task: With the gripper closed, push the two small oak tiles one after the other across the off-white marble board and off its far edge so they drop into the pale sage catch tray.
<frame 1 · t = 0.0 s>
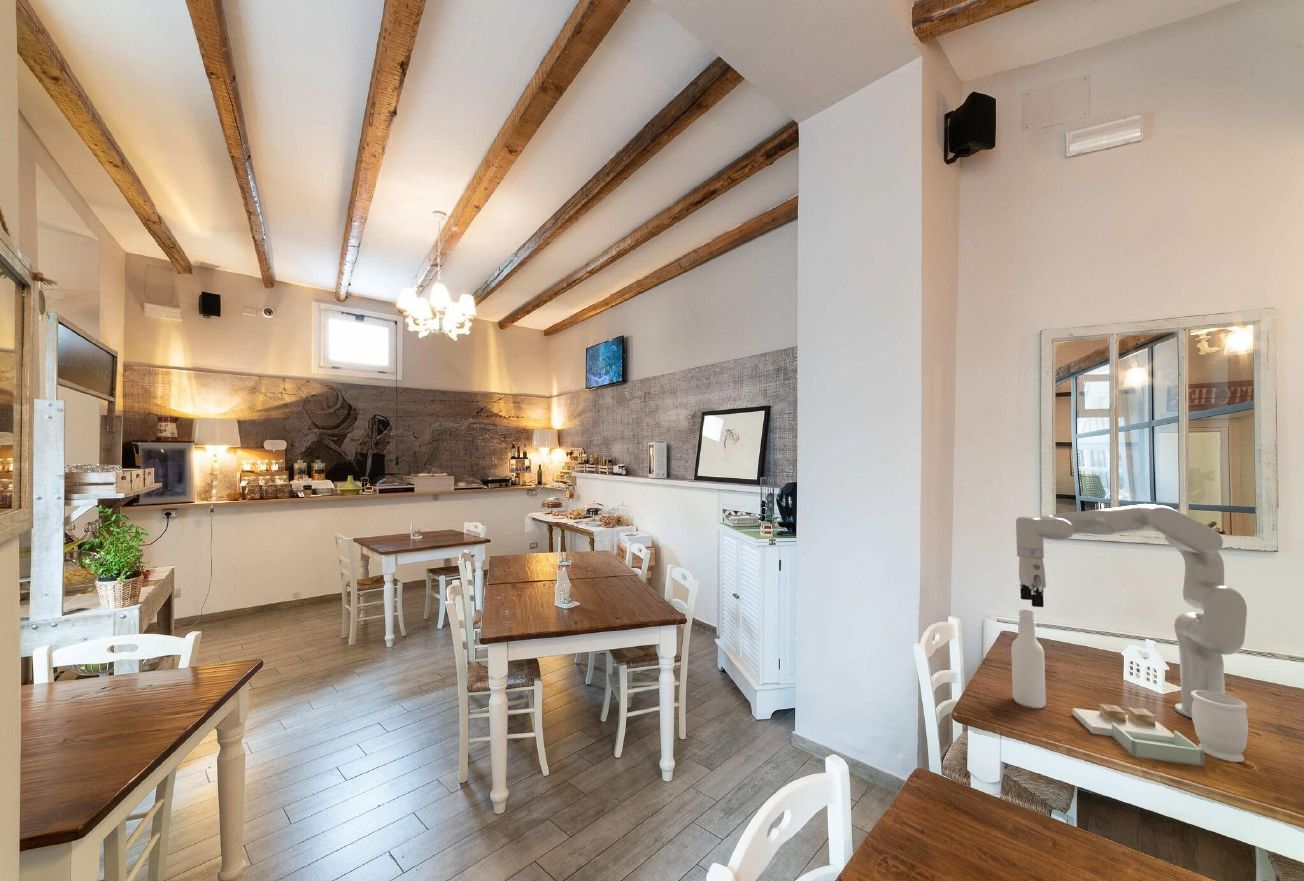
hand: (1031, 603, 176), 31 cm above the table, fingers open, 9 cm apart
tile b: (1112, 718, 154), point 2 cm above the table, touching board
catch tray: (1156, 751, 140), on the table
jar: (1220, 754, 139), on the table
board: (1122, 729, 152), on the table
tile a: (1141, 721, 152), point 2 cm above the table, touching board
alcohol: (1029, 703, 169), on the table
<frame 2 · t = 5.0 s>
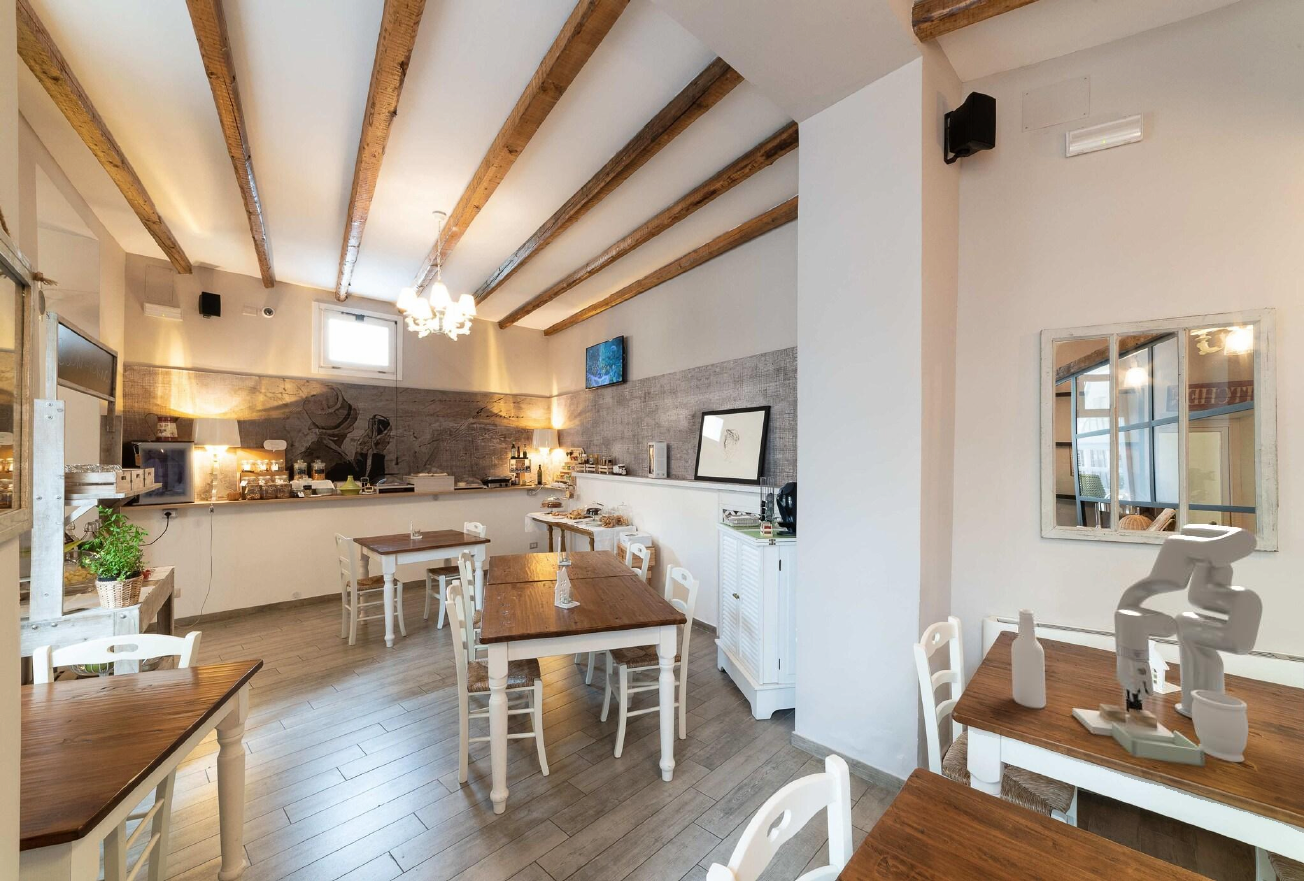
hand: (1134, 713, 155), 3 cm above the table, fingers closed
tile a: (1143, 723, 151), point 2 cm above the table, touching gripper
everything else where it was.
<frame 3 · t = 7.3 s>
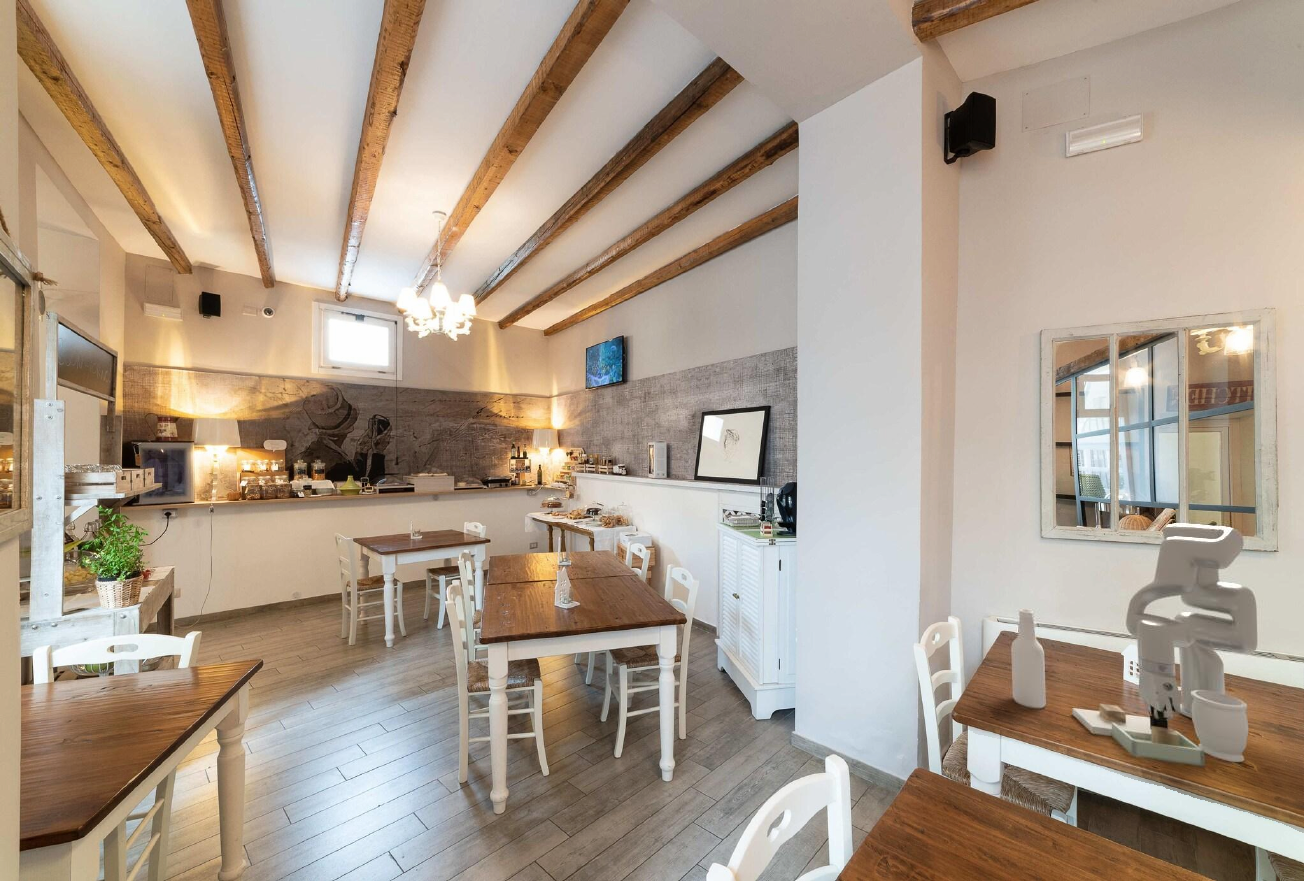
hand: (1159, 732, 144), 3 cm above the table, fingers closed
tile a: (1161, 735, 143), point 3 cm above the table, tilted 97°, touching catch tray, gripper
everything else where it was.
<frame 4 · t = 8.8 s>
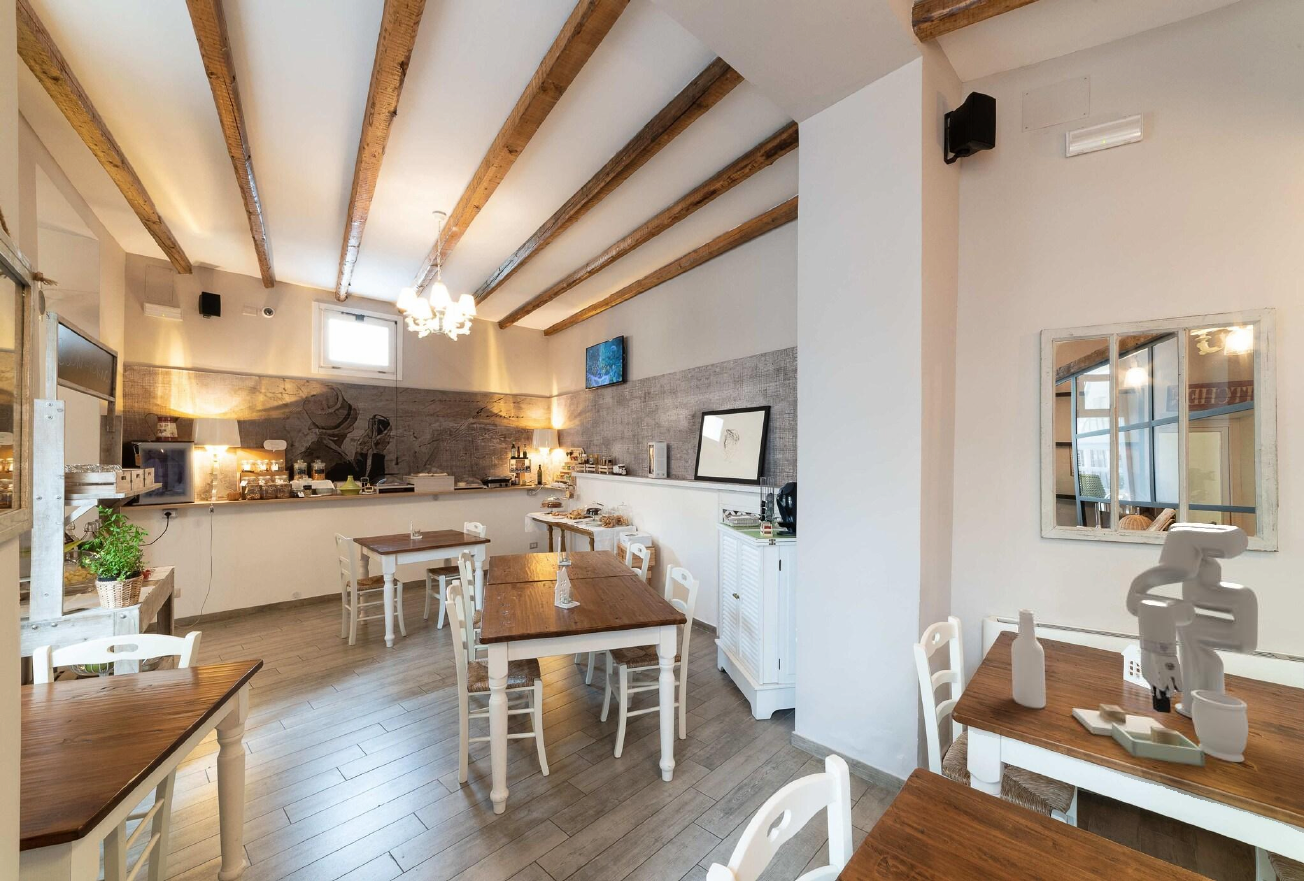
hand: (1161, 711, 144), 9 cm above the table, fingers closed
tile a: (1161, 735, 143), point 3 cm above the table, tilted 90°, touching catch tray
everything else where it was.
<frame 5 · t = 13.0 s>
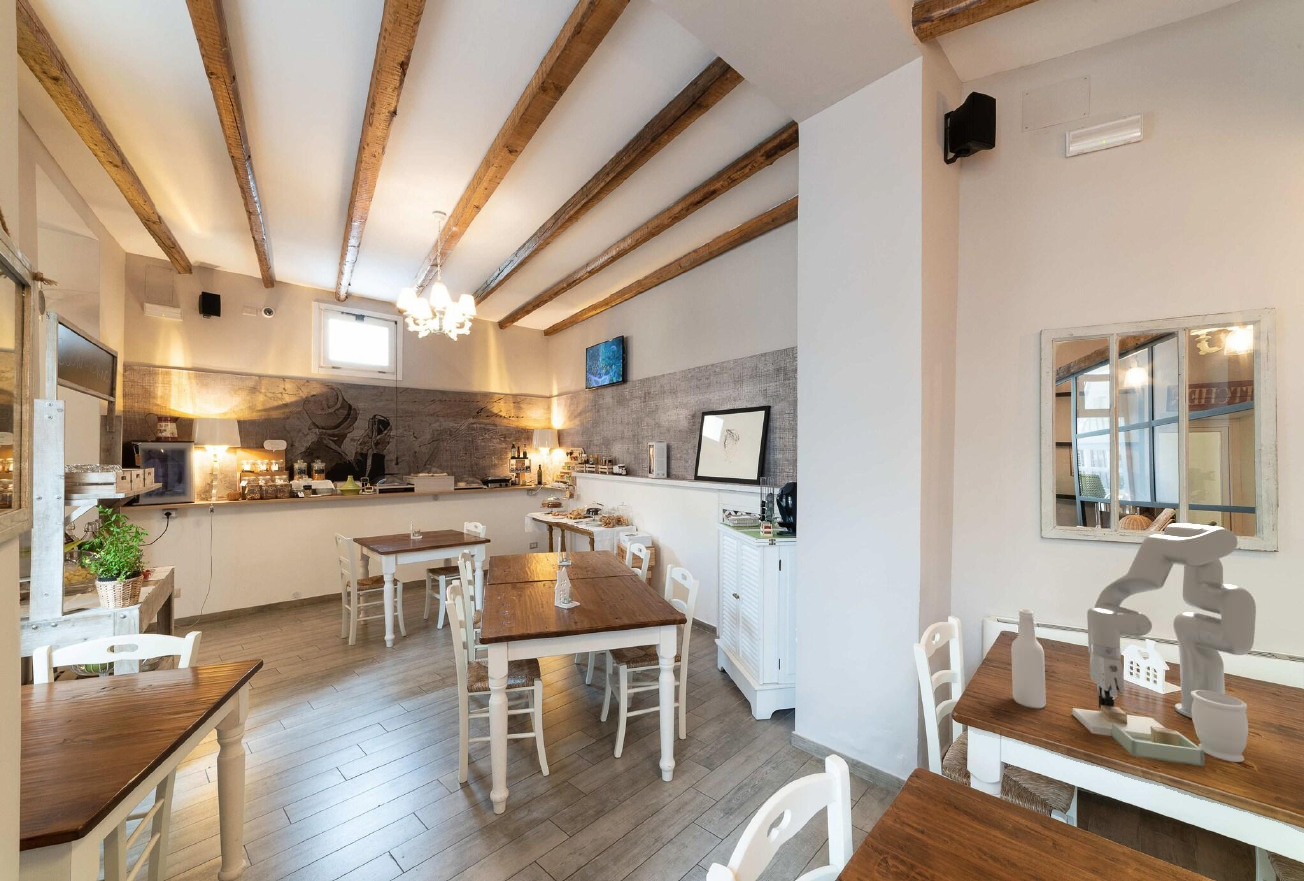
hand: (1106, 710, 157), 3 cm above the table, fingers closed
tile b: (1113, 719, 153), point 2 cm above the table, touching gripper
everything else where it was.
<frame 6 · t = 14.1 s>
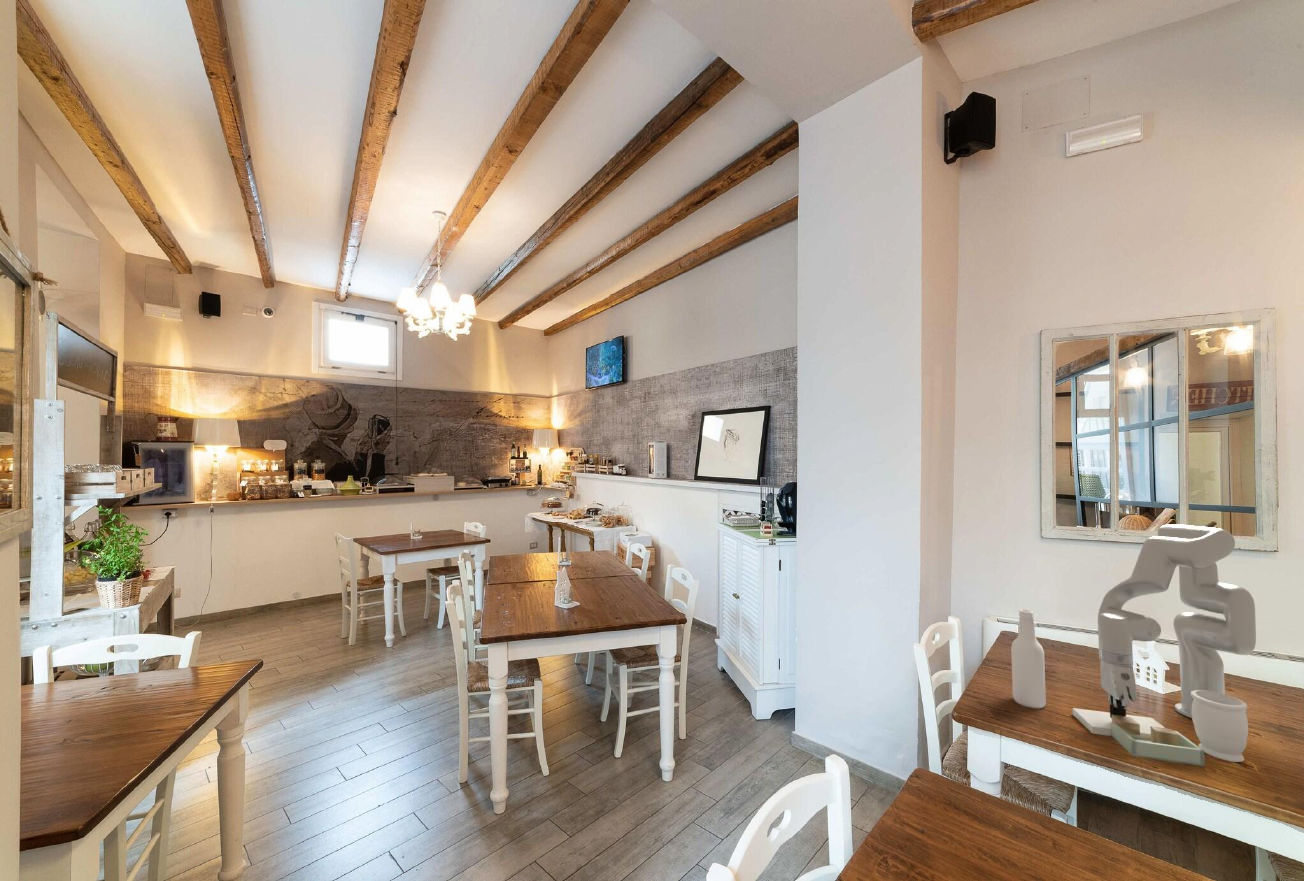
hand: (1118, 719, 151), 3 cm above the table, fingers closed
tile b: (1125, 730, 147), point 2 cm above the table, touching gripper
everything else where it was.
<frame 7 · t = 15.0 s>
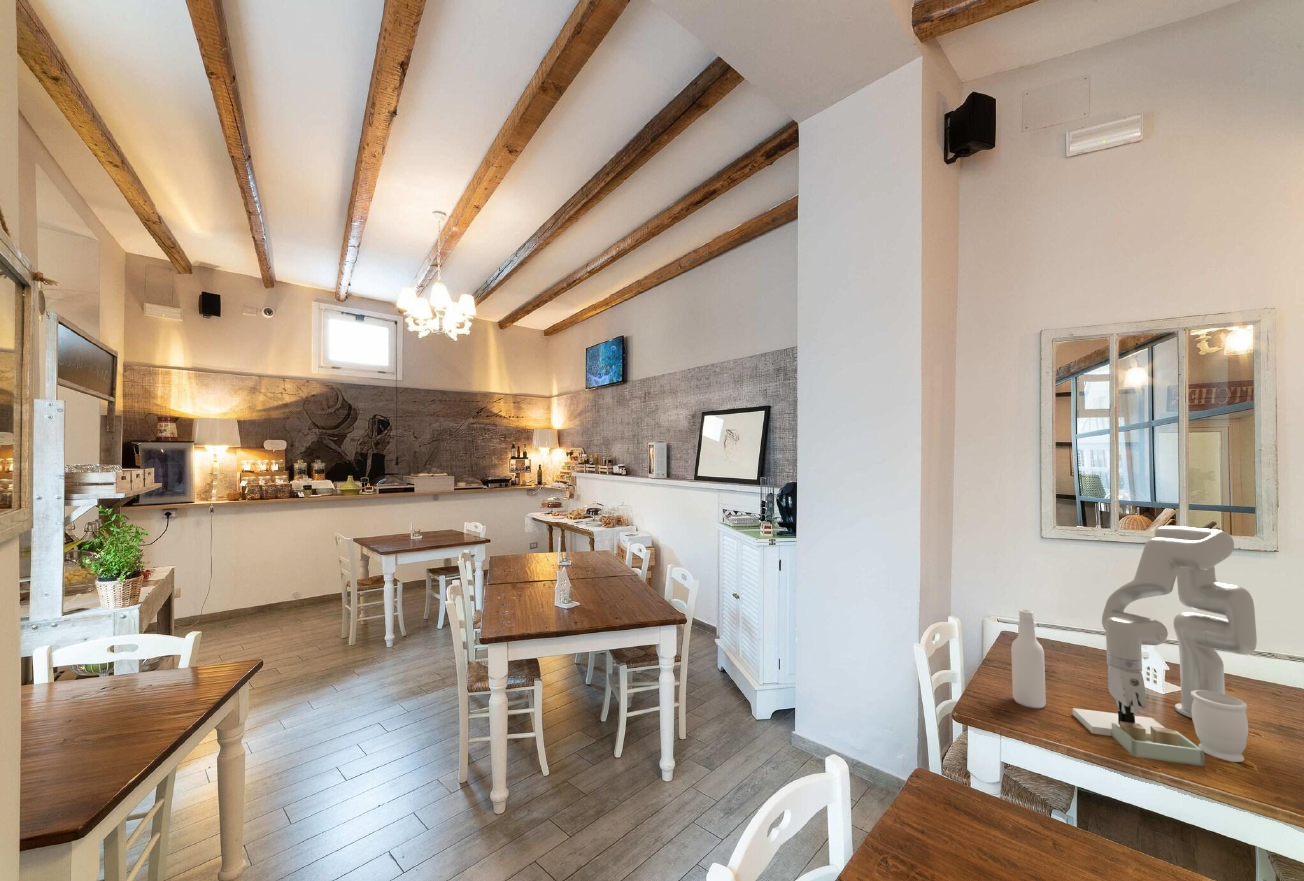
hand: (1126, 726, 147), 3 cm above the table, fingers closed
tile b: (1129, 730, 146), point 3 cm above the table, tilted 93°, touching catch tray, gripper
everything else where it was.
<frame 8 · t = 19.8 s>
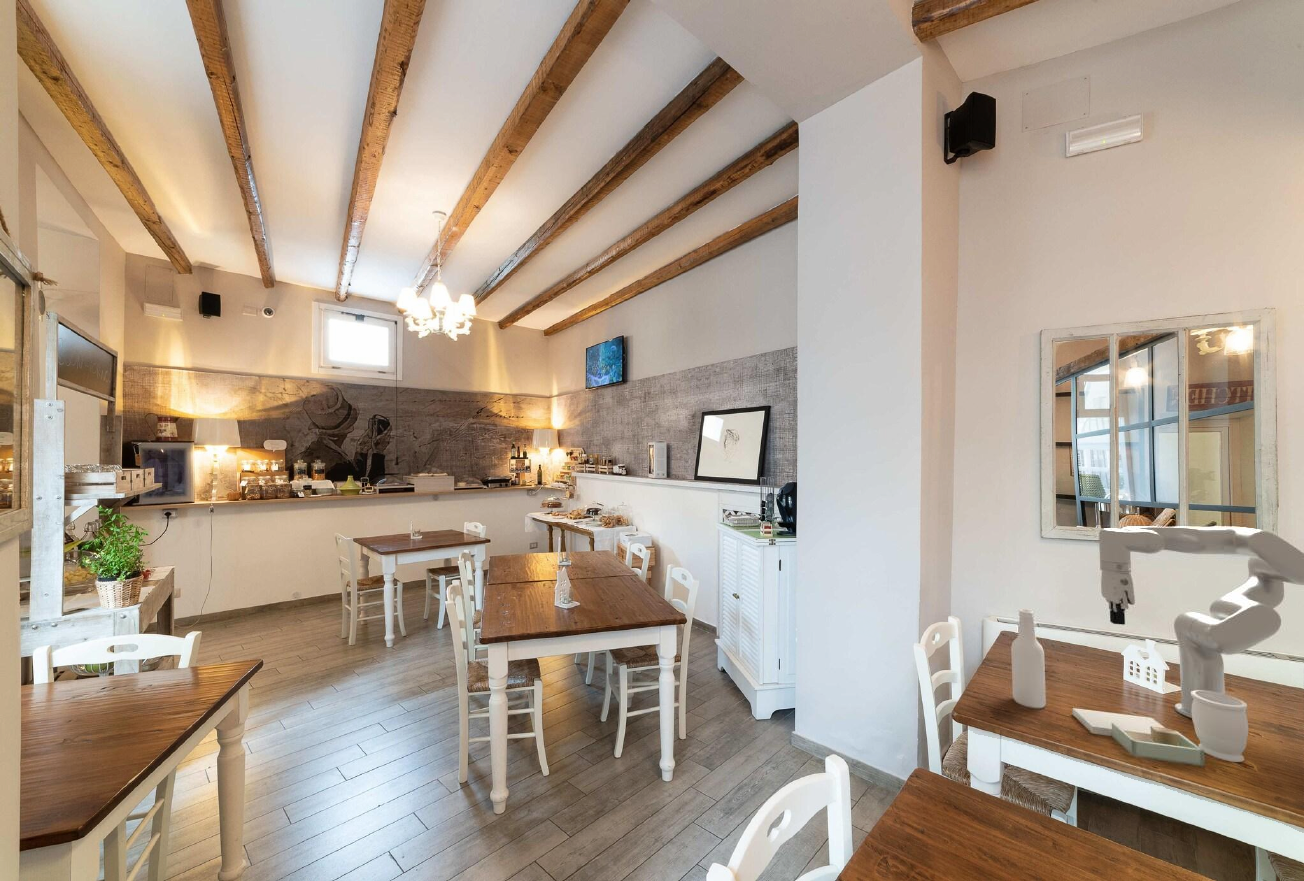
hand: (1117, 623, 166), 27 cm above the table, fingers closed
tile b: (1140, 737, 141), point 3 cm above the table, tilted 180°, touching catch tray
everything else where it was.
at the end: tile a inside the target area on the catch tray (4.8 cm from its centre), point 2.7 cm above the catch tray's base; tile b inside the target area on the catch tray (3.9 cm from its centre), point 3.5 cm above the catch tray's base; tile b touching catch tray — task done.
